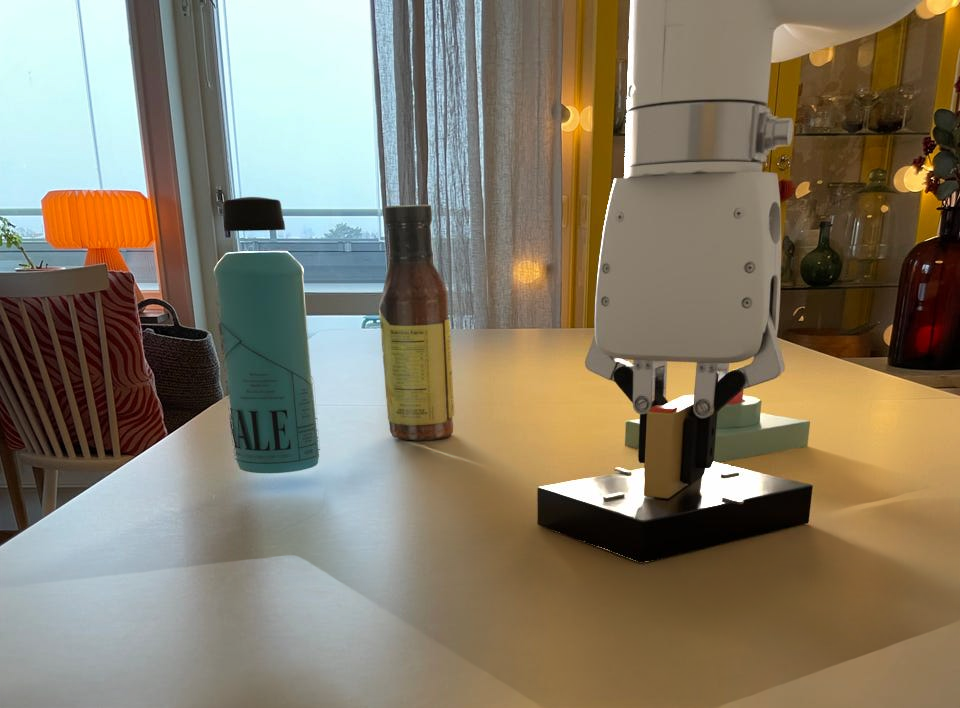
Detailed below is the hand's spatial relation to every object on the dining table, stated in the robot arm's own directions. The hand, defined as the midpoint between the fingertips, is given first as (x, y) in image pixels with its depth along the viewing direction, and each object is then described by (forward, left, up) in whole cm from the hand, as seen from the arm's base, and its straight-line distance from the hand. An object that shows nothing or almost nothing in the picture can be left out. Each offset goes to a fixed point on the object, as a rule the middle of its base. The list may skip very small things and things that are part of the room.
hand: (674, 475), depth 60 cm
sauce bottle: (-2, -36, -3) cm, 36 cm away
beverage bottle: (+16, -26, -3) cm, 31 cm away
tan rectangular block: (0, 0, -1) cm, 1 cm away
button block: (-20, -16, -3) cm, 26 cm away
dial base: (0, 0, -3) cm, 3 cm away
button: (-20, -16, 0) cm, 26 cm away
